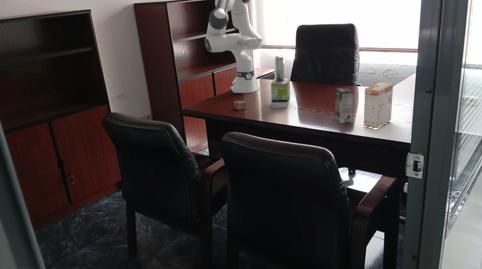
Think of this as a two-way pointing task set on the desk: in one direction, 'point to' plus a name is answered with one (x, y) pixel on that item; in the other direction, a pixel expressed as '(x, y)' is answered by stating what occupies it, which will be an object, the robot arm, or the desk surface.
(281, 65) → the tin canister
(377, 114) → the coffeecake box
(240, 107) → the walnut coaster block
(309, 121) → the desk surface
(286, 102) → the tea box
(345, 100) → the coffee box
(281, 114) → the desk surface
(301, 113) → the desk surface
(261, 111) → the desk surface
